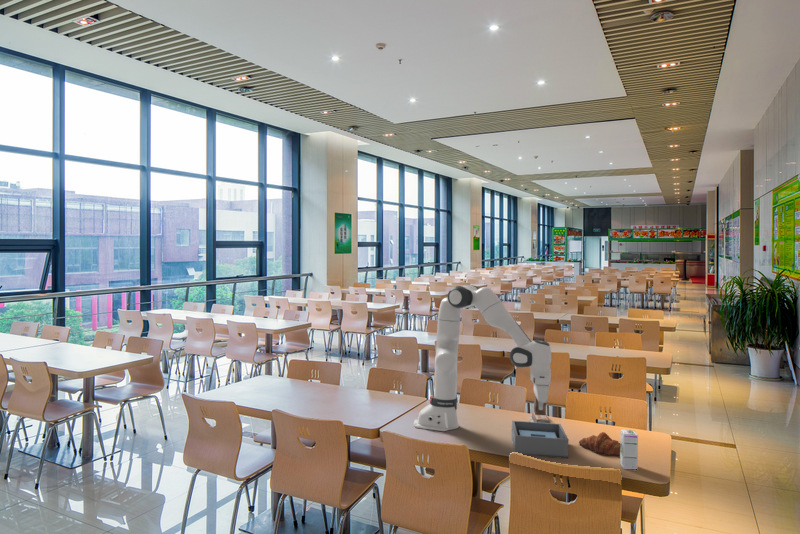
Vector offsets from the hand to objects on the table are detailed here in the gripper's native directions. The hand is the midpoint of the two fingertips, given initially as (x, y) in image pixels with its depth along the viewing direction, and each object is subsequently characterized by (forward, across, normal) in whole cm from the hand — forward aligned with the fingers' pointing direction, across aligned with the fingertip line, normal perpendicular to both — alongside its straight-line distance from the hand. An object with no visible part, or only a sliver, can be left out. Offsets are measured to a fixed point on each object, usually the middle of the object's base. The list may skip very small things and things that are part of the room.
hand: (539, 407), depth 239 cm
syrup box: (+18, +16, +34) cm, 42 cm away
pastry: (+18, -2, +28) cm, 34 cm away
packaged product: (+18, -39, +5) cm, 43 cm away
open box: (+18, 0, 0) cm, 18 cm away
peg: (+3, 0, 0) cm, 3 cm away
